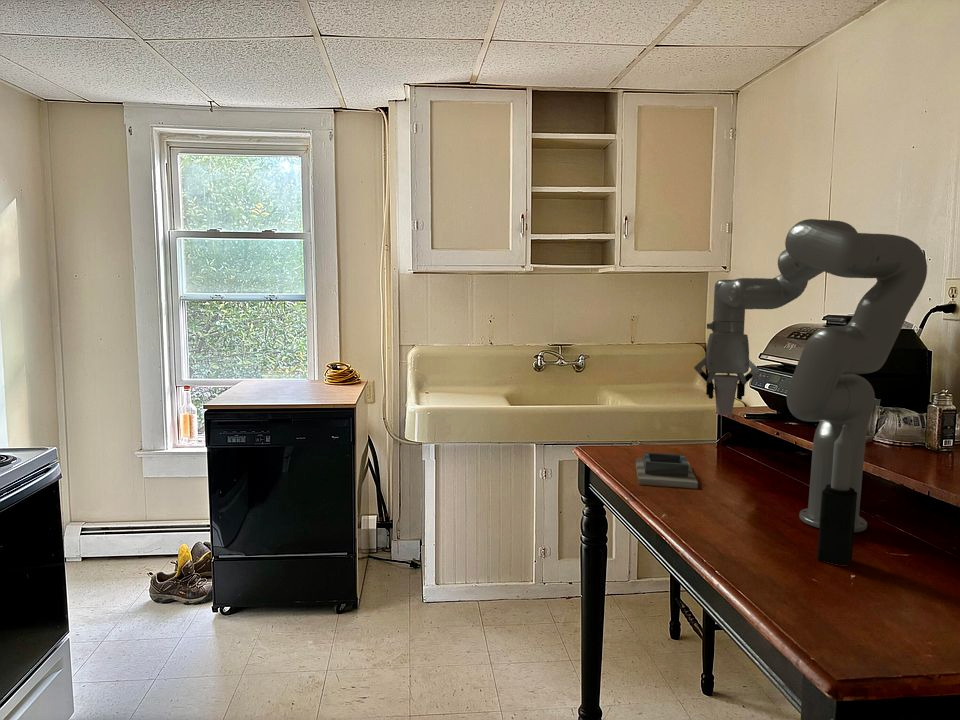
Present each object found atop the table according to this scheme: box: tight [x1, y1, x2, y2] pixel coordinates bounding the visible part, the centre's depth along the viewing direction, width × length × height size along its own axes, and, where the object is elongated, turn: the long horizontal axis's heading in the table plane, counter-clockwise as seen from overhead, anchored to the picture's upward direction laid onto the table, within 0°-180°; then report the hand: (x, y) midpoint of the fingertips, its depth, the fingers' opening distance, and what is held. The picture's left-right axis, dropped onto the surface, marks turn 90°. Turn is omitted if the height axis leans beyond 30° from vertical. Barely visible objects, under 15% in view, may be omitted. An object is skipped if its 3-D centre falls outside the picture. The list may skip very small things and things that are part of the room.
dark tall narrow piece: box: [816, 425, 857, 566], centre depth 121 cm, size 5×5×25 cm
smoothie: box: [713, 373, 739, 416], centre depth 172 cm, size 6×6×14 cm
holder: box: [635, 451, 699, 490], centre depth 174 cm, size 20×14×4 cm
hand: (724, 397), depth 172 cm, fingers closed on smoothie, 6 cm apart
